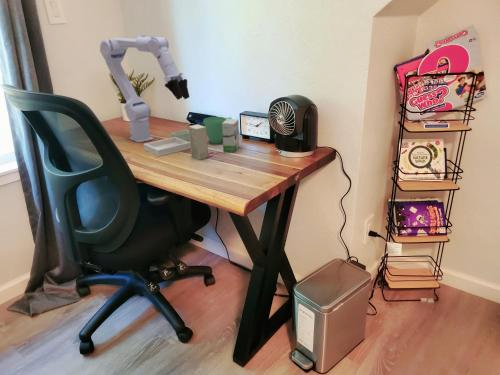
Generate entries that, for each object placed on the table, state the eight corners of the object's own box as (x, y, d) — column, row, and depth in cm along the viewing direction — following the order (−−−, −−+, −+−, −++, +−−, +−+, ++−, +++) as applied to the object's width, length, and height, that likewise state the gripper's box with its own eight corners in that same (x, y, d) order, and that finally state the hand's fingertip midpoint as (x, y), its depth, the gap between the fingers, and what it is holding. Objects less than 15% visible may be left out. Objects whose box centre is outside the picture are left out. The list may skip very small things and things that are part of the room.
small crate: (171, 140, 175) (170, 133, 174) (186, 137, 180) (186, 129, 179) (177, 143, 172) (176, 135, 170) (192, 139, 176) (192, 131, 175)
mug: (214, 146, 164) (212, 123, 160) (200, 142, 171) (198, 119, 167) (240, 139, 174) (239, 117, 170) (226, 135, 180) (225, 113, 176)
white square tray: (144, 149, 163) (143, 143, 162) (175, 142, 172) (175, 136, 171) (158, 156, 154) (157, 150, 153) (191, 148, 163) (190, 142, 162)
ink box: (234, 152, 156) (233, 123, 152) (223, 152, 157) (221, 123, 153) (239, 146, 164) (238, 118, 160) (228, 145, 165) (227, 118, 161)
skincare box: (208, 157, 152) (206, 126, 147) (198, 160, 149) (196, 129, 144) (200, 153, 156) (198, 123, 151) (190, 156, 154) (188, 125, 149)
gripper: (169, 60, 147) (185, 94, 149) (183, 63, 161) (198, 93, 163) (154, 69, 149) (170, 102, 151) (169, 71, 163) (184, 101, 165)
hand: (183, 98), depth 157 cm, fingers open, 7 cm apart
